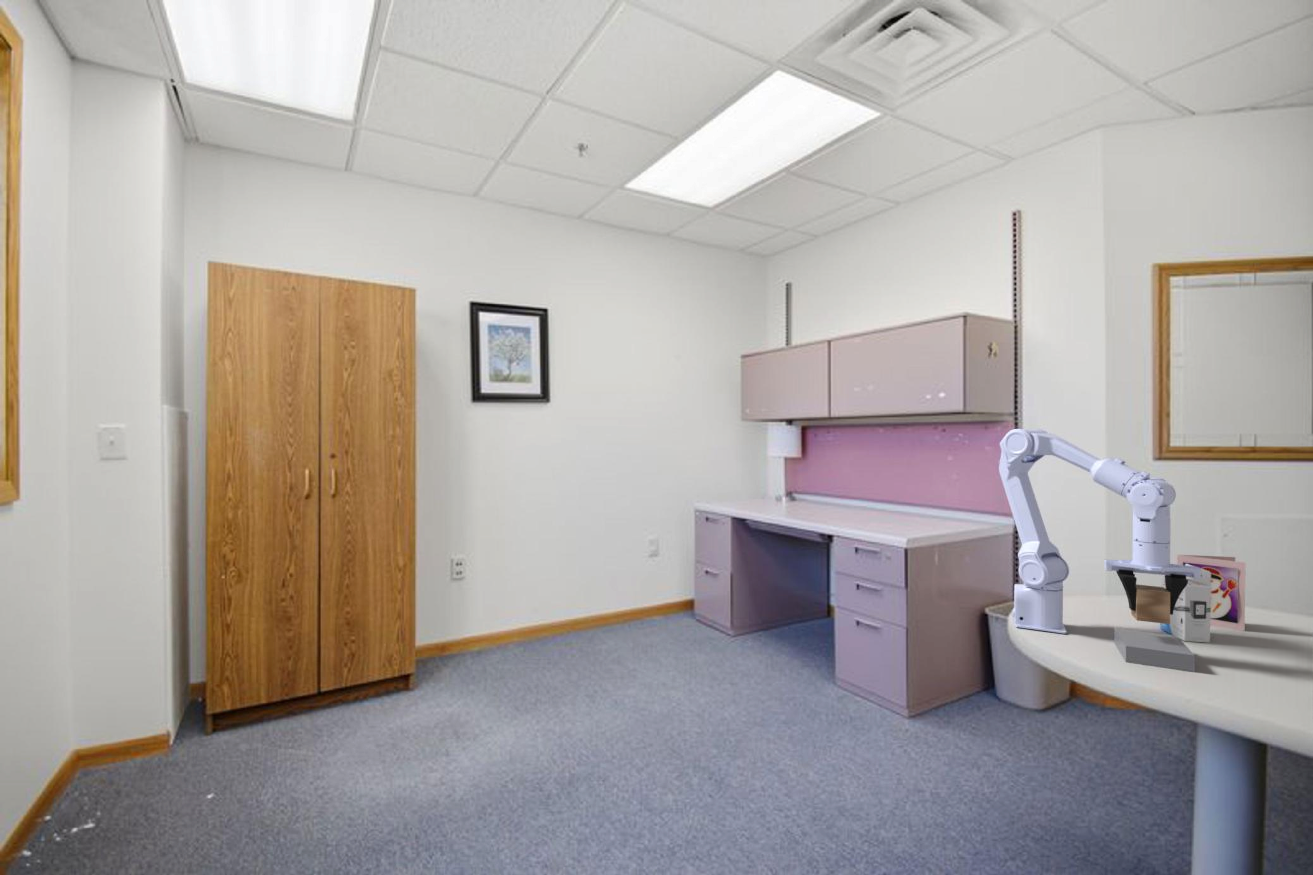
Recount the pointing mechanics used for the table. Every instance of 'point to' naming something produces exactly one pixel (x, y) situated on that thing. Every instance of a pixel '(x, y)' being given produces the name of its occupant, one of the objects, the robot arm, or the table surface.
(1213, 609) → the greeting card
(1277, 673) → the table surface
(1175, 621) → the ink box
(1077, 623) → the table surface
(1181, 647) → the gray rectangular slab
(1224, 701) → the table surface
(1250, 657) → the table surface
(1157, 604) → the walnut block
